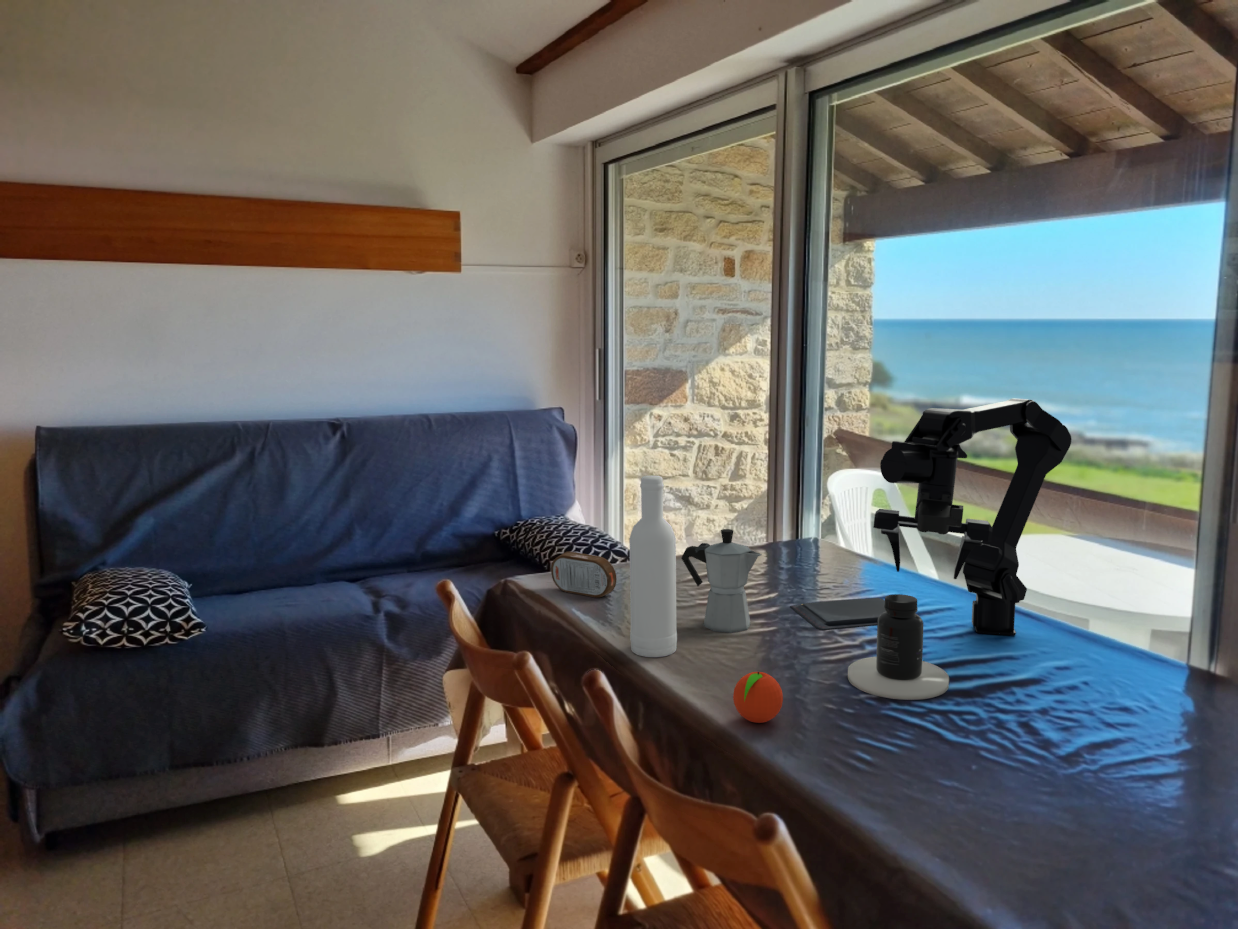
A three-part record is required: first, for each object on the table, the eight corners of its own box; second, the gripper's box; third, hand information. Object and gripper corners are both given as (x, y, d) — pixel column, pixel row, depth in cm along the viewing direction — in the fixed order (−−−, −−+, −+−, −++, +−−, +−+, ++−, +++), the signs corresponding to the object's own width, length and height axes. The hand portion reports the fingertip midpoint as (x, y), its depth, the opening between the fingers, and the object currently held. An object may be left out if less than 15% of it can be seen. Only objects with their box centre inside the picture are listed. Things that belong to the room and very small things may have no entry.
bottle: (620, 650, 162) (618, 477, 157) (651, 638, 167) (649, 471, 163) (656, 661, 156) (654, 482, 152) (686, 649, 162) (685, 476, 158)
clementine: (768, 738, 127) (768, 688, 126) (721, 727, 131) (721, 678, 130) (790, 716, 134) (791, 668, 133) (745, 707, 138) (745, 660, 136)
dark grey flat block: (818, 623, 170) (788, 599, 185) (818, 633, 171) (788, 609, 185) (921, 616, 174) (883, 593, 189) (920, 626, 174) (883, 602, 189)
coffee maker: (765, 621, 176) (766, 526, 174) (756, 635, 168) (757, 537, 165) (688, 614, 181) (687, 522, 179) (675, 628, 173) (675, 532, 170)
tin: (617, 597, 193) (617, 557, 192) (609, 601, 190) (608, 560, 189) (558, 587, 201) (557, 548, 200) (549, 591, 198) (548, 552, 197)
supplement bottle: (930, 679, 144) (933, 603, 142) (888, 683, 142) (891, 606, 140) (908, 663, 150) (910, 590, 148) (868, 667, 149) (870, 593, 147)
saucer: (945, 667, 152) (945, 660, 151) (952, 704, 137) (952, 696, 137) (849, 660, 156) (849, 653, 155) (845, 694, 141) (846, 687, 141)
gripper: (877, 482, 154) (867, 576, 155) (1000, 495, 148) (988, 592, 150) (879, 476, 164) (870, 564, 166) (994, 488, 159) (983, 579, 160)
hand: (926, 575), depth 160 cm, fingers open, 9 cm apart
